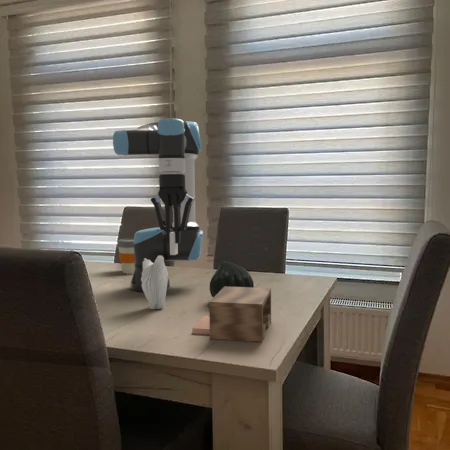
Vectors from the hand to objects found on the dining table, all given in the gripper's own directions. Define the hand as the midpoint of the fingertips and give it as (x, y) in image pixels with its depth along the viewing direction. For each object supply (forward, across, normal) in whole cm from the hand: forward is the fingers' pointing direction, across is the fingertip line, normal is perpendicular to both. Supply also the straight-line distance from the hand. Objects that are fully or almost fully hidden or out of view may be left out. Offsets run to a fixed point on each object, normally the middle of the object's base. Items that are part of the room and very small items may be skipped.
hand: (174, 254), depth 137 cm
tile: (+21, +17, -4) cm, 27 cm away
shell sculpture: (+21, -11, +12) cm, 26 cm away
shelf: (+20, +21, -4) cm, 29 cm away
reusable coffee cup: (+21, -44, +68) cm, 84 cm away
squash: (+21, +12, +24) cm, 34 cm away
